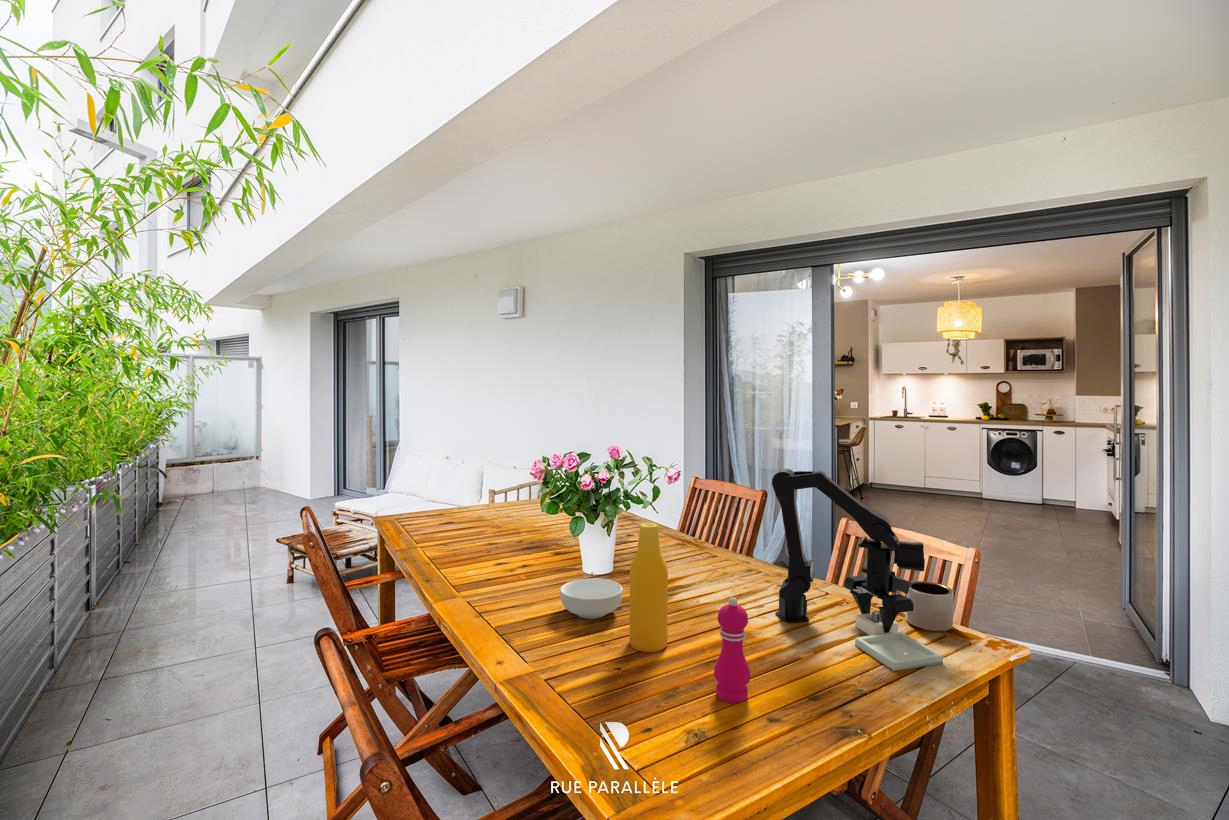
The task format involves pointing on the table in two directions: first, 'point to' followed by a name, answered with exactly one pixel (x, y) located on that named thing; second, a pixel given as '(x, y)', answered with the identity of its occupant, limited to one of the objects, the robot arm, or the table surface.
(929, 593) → the planter
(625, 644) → the table surface
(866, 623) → the white block
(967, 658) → the table surface
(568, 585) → the cereal bowl
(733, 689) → the pepper mill
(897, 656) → the tray
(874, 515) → the robot arm
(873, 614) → the post
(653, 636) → the beer bottle
